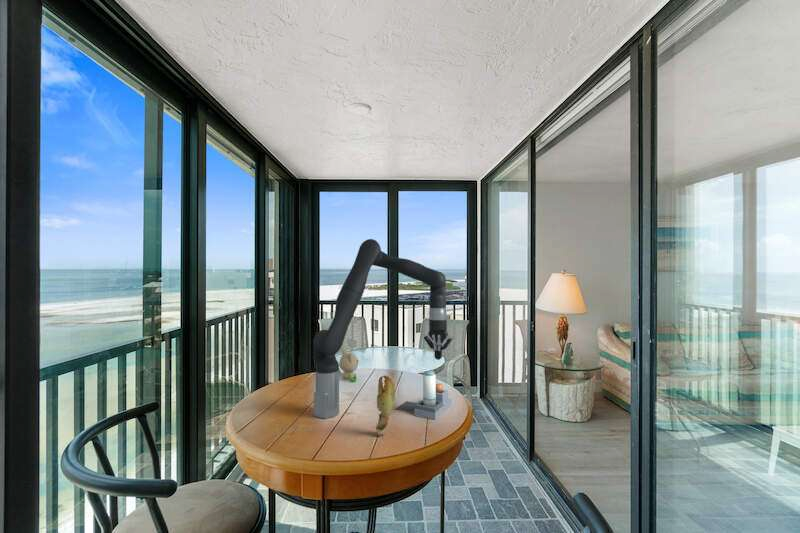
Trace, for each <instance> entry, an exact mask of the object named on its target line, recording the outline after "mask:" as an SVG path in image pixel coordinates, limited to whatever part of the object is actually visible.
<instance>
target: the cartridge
mask: <svg viewBox="0 0 800 533" xmlns="http://www.w3.org/2000/svg"><path fill="white" fill-rule="evenodd" d="M436 378H437V376H436V373H435V371H434V370H426V371H423V374H422V395H423V396H422V400H423V406H428V407H433V408H434V407H435V406H436V384H437V383H436V381H437V380H436Z"/></svg>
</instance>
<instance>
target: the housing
mask: <svg viewBox="0 0 800 533" xmlns="http://www.w3.org/2000/svg"><path fill="white" fill-rule="evenodd" d="M417 403H418V404H416V405H415V409H414V413H413V414H414V416H416V417H420V418H424V419H430V420H435V421H436V420H437V419H438V418H439V417H440V416H441V415H442V414H444V413H445V412H446V411H448V409H450V407H452V405H453V404H452V399H451V398H449V391H448V390H447V389H443V391H442V392H436V406H435V407H434V408H433V407H428V406H423V399H422V400H421V401H419V402H417Z"/></svg>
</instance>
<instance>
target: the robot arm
mask: <svg viewBox="0 0 800 533" xmlns="http://www.w3.org/2000/svg"><path fill="white" fill-rule="evenodd" d="M357 251H358V252H357V254H356V257H355V259H354V262H353V265H352V267H351V269H350V271H349V273H348V274H347V276H346V278H345V281H344V282H343V284H342V287H341V288H340V290H339V292H338V295H337V297H336V301H335V308H334V309H335V310H334V311H335V312H334V316H333V320H332V321H331V323H330V326H329V327H328V329H321V330H319V331H318V332H316V334H315V335H314V337H313V341H312V342H313V343H312V349H313V364H314V366H315V391H314V392H313V416H314V417H317V418H320V419H326V420H327V419H329V418H333V417H336V416H338V415H339V414H340V375H339V369H340V366H339V360H338V359H337V358H336V354H337V353H338V352H339V351H340V349H341V348H342V346H343V344H344V340H345V337H346V335H347V331H348V328H349V326H350V323H351V322H352V319H353V317H354V314H355V312H356V310H357V308H358V305H359V304H360V302H361V300H362V297H363V295H364V292H365V288H366V285H367V281H368V276H369V273H370V270H371V268H372V266H376V267H380V268H382V269H387V270H390V271H393V272H396V273H398V274H401V275H404V276H406V277H408V278H410V279H412V280H415V281H419V282H422V283H423V284H425V285H427V286H429V292H430V293H429V302H428V303H429V309H428V310H429V311H428V327H429V328H428V329H429V331H428V334H427V335H425V336H423V339H424V341H425V343H427V345H428V347H429V348H430V349H432V350H433V351H434V358H435V360H441V358H443V350H446V349H447V348H448V347H449V345H450V344H451V343H452V341H453V339H454V338H453V337H450V336H449V332H448V324H447V323H448V320H447V319H448V314H447V313H448V312H447V298H446V287H447V278H446V275H445V274H444V273H443V272H442V271H438V270H435V269H433V268H429V267H427V266H425V265H423V264H421V263H419V262H416V261H413V260H411V259H407V258H402V257H396V256H393V255H390V254H387V253H385V252H384V251H383V250H382V248H381V244H379V242H378V241H377V240H376V239H373V238H369V239H365V240H364V241H363V242H362V243H361V244H360V245H359V248H358V250H357ZM444 341H446V342H444Z"/></svg>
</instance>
